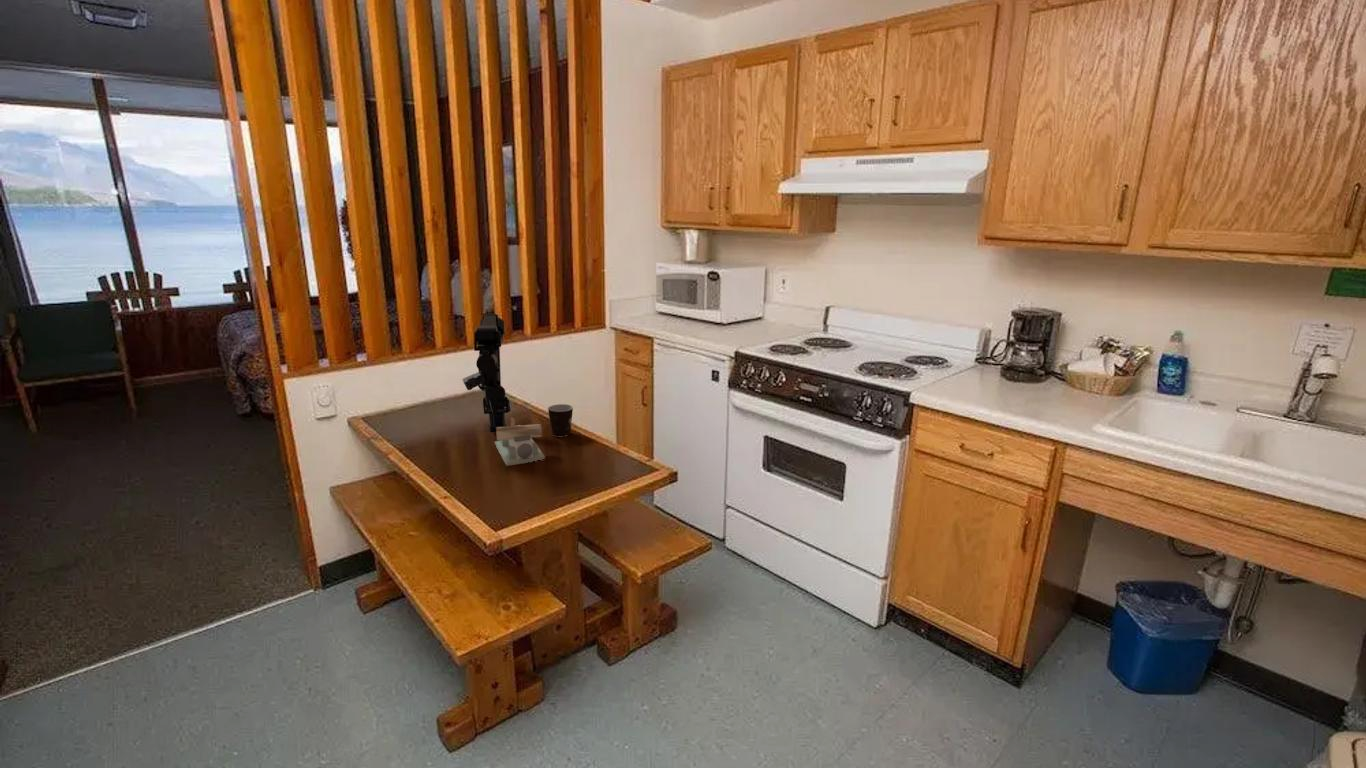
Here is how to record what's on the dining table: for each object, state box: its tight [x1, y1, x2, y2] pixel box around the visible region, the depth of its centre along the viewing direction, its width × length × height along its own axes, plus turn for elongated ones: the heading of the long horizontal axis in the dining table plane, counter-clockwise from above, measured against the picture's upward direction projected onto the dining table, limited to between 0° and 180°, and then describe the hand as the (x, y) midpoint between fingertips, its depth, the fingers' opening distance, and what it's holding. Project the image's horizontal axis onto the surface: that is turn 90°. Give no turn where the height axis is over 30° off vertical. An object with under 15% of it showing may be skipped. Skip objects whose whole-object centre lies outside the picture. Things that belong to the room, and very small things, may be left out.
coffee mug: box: [547, 403, 574, 436], centre depth 215 cm, size 12×9×10 cm
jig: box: [494, 417, 546, 467], centre depth 199 cm, size 21×12×9 cm, turn 27°
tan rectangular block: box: [495, 423, 543, 441], centre depth 197 cm, size 4×14×3 cm, turn 106°
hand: (492, 410), depth 204 cm, fingers open, 9 cm apart
